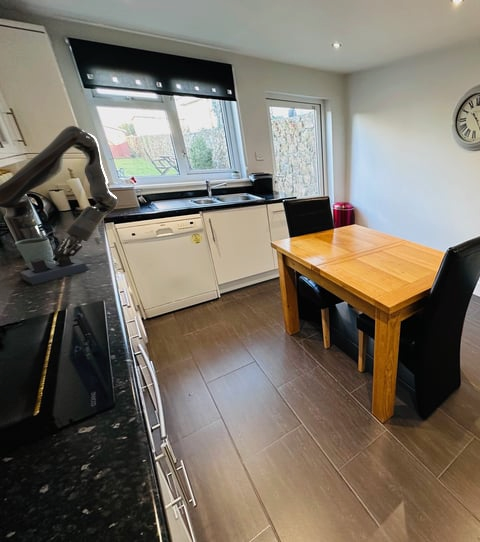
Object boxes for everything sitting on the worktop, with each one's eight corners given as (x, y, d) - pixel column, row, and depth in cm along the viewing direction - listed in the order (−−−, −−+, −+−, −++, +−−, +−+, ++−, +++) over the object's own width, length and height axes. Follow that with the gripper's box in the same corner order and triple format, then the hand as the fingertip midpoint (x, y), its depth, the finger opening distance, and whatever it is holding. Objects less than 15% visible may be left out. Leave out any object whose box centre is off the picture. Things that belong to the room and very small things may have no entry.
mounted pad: (38, 278, 118) (29, 260, 115) (48, 275, 120) (39, 258, 117) (42, 280, 116) (33, 262, 113) (52, 277, 119) (43, 260, 116)
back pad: (61, 269, 124) (53, 252, 120) (70, 266, 126) (62, 250, 123) (65, 271, 122) (57, 253, 119) (74, 268, 124) (67, 251, 121)
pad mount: (23, 279, 116) (19, 271, 115) (77, 265, 131) (74, 258, 129) (33, 285, 112) (29, 277, 111) (88, 270, 127) (85, 262, 125)
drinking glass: (21, 268, 127) (8, 242, 122) (48, 260, 136) (38, 236, 131) (37, 270, 124) (25, 245, 120) (64, 262, 133) (54, 238, 129)
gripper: (100, 235, 126) (75, 268, 121) (85, 230, 132) (61, 262, 127) (80, 226, 120) (54, 261, 115) (65, 221, 126) (39, 255, 120)
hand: (58, 261), depth 121 cm, fingers closed on back pad, 4 cm apart
